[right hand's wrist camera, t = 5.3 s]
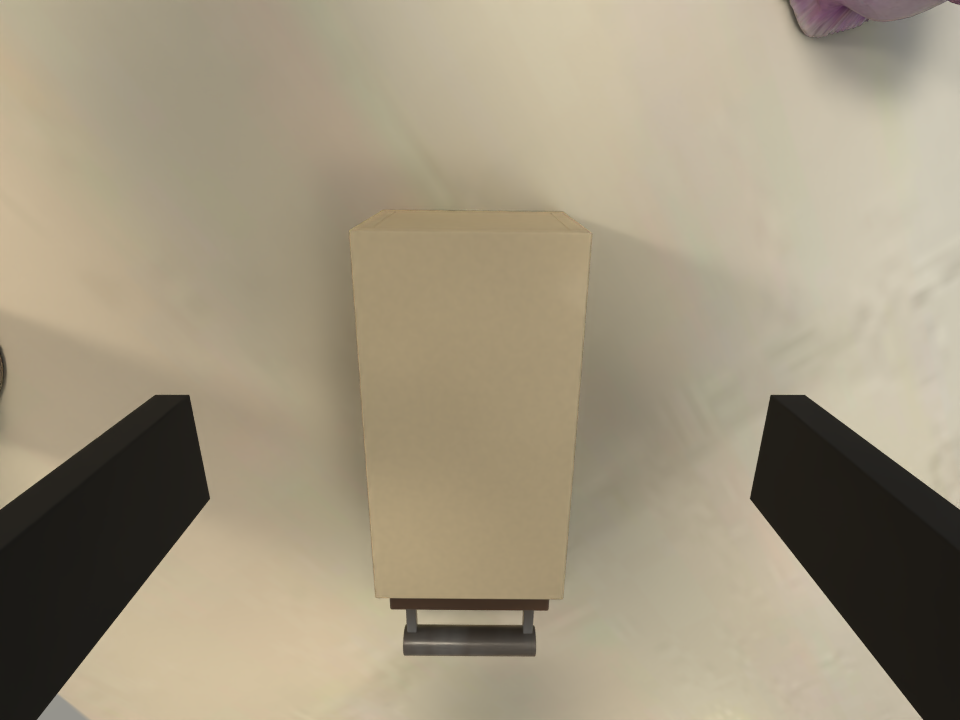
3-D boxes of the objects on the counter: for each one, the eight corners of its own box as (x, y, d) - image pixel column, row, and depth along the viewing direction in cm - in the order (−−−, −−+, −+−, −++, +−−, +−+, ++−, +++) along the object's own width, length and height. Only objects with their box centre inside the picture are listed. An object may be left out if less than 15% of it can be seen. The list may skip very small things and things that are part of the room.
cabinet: (545, 505, 38) (563, 600, 30) (397, 504, 38) (374, 598, 30) (563, 211, 31) (592, 232, 23) (382, 209, 31) (348, 229, 23)
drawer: (533, 596, 40) (543, 680, 33) (408, 595, 40) (394, 679, 33) (552, 265, 31) (570, 293, 25) (393, 263, 31) (370, 292, 25)
